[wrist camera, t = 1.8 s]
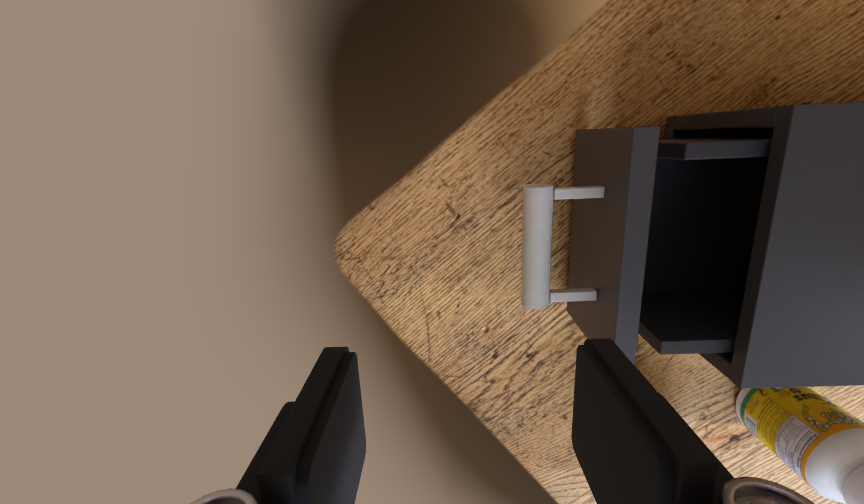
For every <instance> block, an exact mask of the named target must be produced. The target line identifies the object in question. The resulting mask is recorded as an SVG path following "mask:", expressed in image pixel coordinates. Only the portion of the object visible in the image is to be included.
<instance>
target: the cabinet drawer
mask: <svg viewBox="0 0 864 504" xmlns="http://www.w3.org/2000/svg"><path fill="white" fill-rule="evenodd" d="M659 133H660V126H643V127H623V128H605V129H587V130H576V146H575V165H574V184H573V187H555V188H554V185H552V184H543V183H537V184H526V185H524V186H523V231H522V285H521V304H522V305H523V306H524V307H526V308H530V309H544V308H547V307H548V306H549V301H550V302H567V312H568V313H569V314H570V316H571V317H572V319H573V320H574V321H575V323H576V324H577V325H578V327H579V328H580V329H581V331H582V332H583V333H584V335H585V336H586V337H587V339H602V338H611V339H612V340H613V341H614V342H615V343H616V345H617V346H618V347H619V348H620V349H621V350H622V352H623V353H624V354H625V355H626V356H627V357H628V359H629V360H630V361H631V362H632V363H633V364H634V365H635V358H636V348H637V339H638V333H639V334H640V335H641V336H642V337H643V338H644V339H645V340H646V341H647V342H648V343H649V344H650V345H651V346H652V347H653V348H654V349H655V350H656V351H657V352H658V353H659V354H693V353H726V352H734V347H735V341H736V336H737V330H738V325H739V319H740V314H741V308H742V303H743V297H744V292H745V286H746V281H747V275H748V270H749V264H750V259H751V253H752V247H753V242H754V236H755V231H756V225H757V220H758V214H759V209H760V203H761V198H762V192H763V187H764V181H765V176H766V170H767V165H768V159H769V153H770V148H771V142H772V137H773V134H771V135H749V136H726V137H704V138H681V139H659ZM553 199H555V200H560V199H573V203H572V222H571V242H570V261H569V280H568V289H550V268H551V242H552V217H553Z"/></svg>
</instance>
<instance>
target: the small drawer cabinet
mask: <svg viewBox="0 0 864 504" xmlns="http://www.w3.org/2000/svg"><path fill="white" fill-rule="evenodd" d="M771 134H773V137H772V142H771V148H770V153H769V159H768V165H767V170H766V176H765V181H764V187H763V192H762V198H761V203H760V209H759V214H758V220H757V225H756V231H755V236H754V242H753V247H752V253H751V259H750V264H749V270H748V275H747V281H746V286H745V292H744V297H743V303H742V308H741V314H740V319H739V325H738V330H737V336H736V341H735V347H734V352H726V353H699V354H700V355H701V356H702V357H703V358H705V359H706V360H707V361H708V362H709V363H711V364H712V365H713V366H714V367H716V368H717V369H718V370H719V371H720V372H722V373H723V374H724V375H725V376H726V377H728V378H729V380H731V381H732V382H733V383H734V384H736V385H737V386H738V387H739V388H741V389H744V388H778V387H813V386H848V385H864V102H844V103H822V104H801V105H787V106H777V107H766V108H755V109H744V110H733V111H722V112H711V113H700V114H689V115H679V116H669V117H668V118H667V127H666V136H665V139H681V138H704V137H726V136H749V135H771Z"/></svg>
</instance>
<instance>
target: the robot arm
mask: <svg viewBox="0 0 864 504" xmlns="http://www.w3.org/2000/svg"><path fill="white" fill-rule="evenodd" d="M572 444H573V449H574V452H575V454H576V457H577V459H578V461H579V463H580V466H581V468H582V470H583V473H584V475H585V477H586V480H587V482H588V484H589V486H590V489H591V491H592V493H593V496H594V498H595V500H596V503H597V504H814V503H813V502H812V501H810V500H809V499H807V498H805V497H804V496H802V495H800V494H799V493H797V492H795V491H794V490H792V489H789V488H787V487H785V486H782V485H780V484H778V483H775V482H772V481H768V480H765V479H761V478H754V477H739V478H734V477H733V476H732V475H731V474H730V473H729V472H728V470H727V469H726V468H725V467H724V466H723V465H722V463H721V462H720V461H719V460H718V459H717V458H716V457H715V455H714V454H713V453H712V452H711V451H710V450H709V449H708V447H707V446H706V445H705V444H704V443H703V442H702V440H701V439H700V438H699V437H698V436H697V435H696V434H695V432H694V431H693V430H692V429H691V428H690V427H689V426H688V424H687V423H686V422H685V421H684V420H683V419H682V418H681V416H680V415H679V414H678V413H677V412H676V411H675V409H674V408H673V407H672V406H671V405H670V404H669V403H668V401H667V400H666V399H665V398H664V397H663V396H662V395H661V394H660V393H658V392H657V391H656V390H655V389H654V388H653V386H652V385H651V384H650V383H649V382H648V381H647V379H646V378H645V377H644V376H643V375H642V374H641V372H640V371H639V370H638V369H637V368H636V367H635V365H634V364H633V363H632V362H631V361H630V360H629V359H628V357H627V356H626V355H625V354H624V353H623V352H622V350H621V349H620V348H619V347H618V346H617V345H616V343H615V342H614V341H613V340H612V339H611V338H602V339H586V340H585V342H584V345H579V346H578V348H577V356H576V372H575V389H574V405H573V421H572ZM365 453H366V437H365V428H364V418H363V409H362V400H361V391H360V381H359V372H358V362H357V355H356V353H355V352H349V349H348V347H326V348H324V349H323V351H322V353H321V355H320V356H319V358H318V360H317V362H316V364H315V366H314V367H313V369H312V371H311V373H310V375H309V377H308V379H307V380H306V382H305V384H304V386H303V388H302V390H301V392H300V394H299V395H298V397H297V399H296V401H295V402H287V403H286V404H285V405H284V406H283V408H282V409H281V411H280V413H279V414H278V416H277V418H276V420H275V421H274V423H273V425H272V427H271V428H270V430H269V432H268V433H267V435H266V437H265V439H264V440H263V442H262V444H261V446H260V448H259V449H258V451H257V453H256V454H255V456H254V458H253V460H252V461H251V463H250V465H249V467H248V468H247V470H246V472H245V473H244V475H243V477H242V479H241V480H240V482H239V484H238V486H237V487H236V489H226V490H219V491H216V492H213V493H210V494H207V495H205V496H203V497H201V498H199V499H198V500H196V501H194V502H193V503H190V504H354V503H355V499H356V494H357V490H358V486H359V481H360V477H361V472H362V468H363V464H364V459H365Z"/></svg>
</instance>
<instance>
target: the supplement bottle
mask: <svg viewBox="0 0 864 504" xmlns="http://www.w3.org/2000/svg"><path fill="white" fill-rule="evenodd" d="M736 413H737V416H738V418H739V419H740V421H741V422H742V423H743V424H744V425H745V426H746V427H747V428H748V429H749V430H750V431H751V432H752V433H753V434H754V435H755V436H756V437H757V438H758V439H759V440H761V441H762V442H763V443H764V444H765V445H766V446H767V447H768V448H769V449H770V450H771V451H773V452H774V453H775V454H776V455H777V456H778V457H779V458H780V459H781V460H782V461H783V462H784V463H785V464H787V465H788V466H789V467H790V468H791V469H792V470H793V471H794V472H795V473H796V474H797V475H798V476H799V477H801V478H802V479H803V480H804V481H805V482H806V483H807V484H808V485H809V486H810V487H811V488H813V489H814V490H815V491H816V492H817V493H819V494H820V495H822V496H824V497H826V498H828V499H830V500H833V501H836V502H841V503H847V504H864V422H862V421H861V420H859V419H858V418H856V417H855V416H853V415H852V414H850V413H849V412H847V411H846V410H844V409H843V408H841V407H840V406H838V405H837V404H835V403H833V402H832V401H831V400H829V399H827V398H826V397H824V396H823V395H821V394H820V393H818V392H817V391H816V390H814V389H812V388H811V387H778V388H744V389H742V390H741V391H740V393H739V395H738V397H737V399H736Z"/></svg>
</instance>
